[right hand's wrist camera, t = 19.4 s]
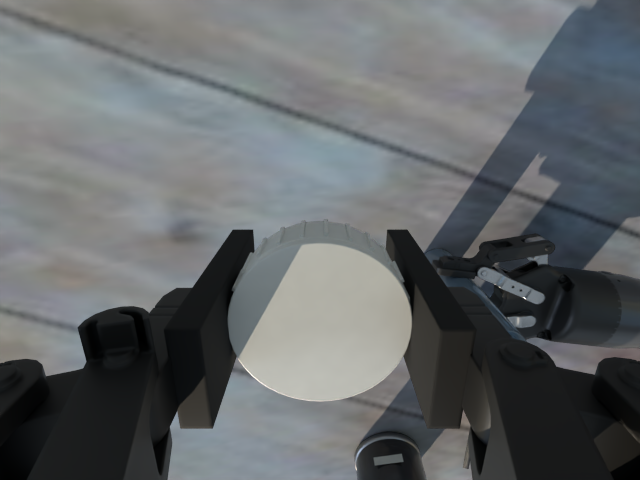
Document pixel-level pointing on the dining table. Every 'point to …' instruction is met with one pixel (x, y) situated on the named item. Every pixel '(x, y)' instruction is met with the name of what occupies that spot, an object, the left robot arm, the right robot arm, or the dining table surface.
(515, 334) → the bottle
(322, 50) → the dining table surface
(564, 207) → the dining table surface
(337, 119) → the dining table surface
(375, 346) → the lid
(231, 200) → the dining table surface
